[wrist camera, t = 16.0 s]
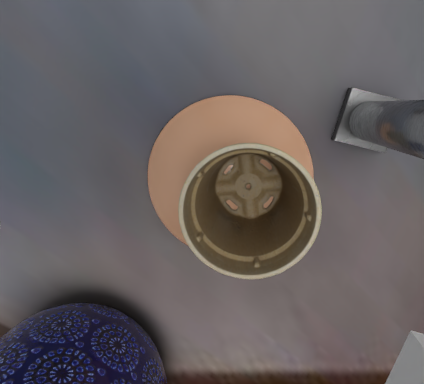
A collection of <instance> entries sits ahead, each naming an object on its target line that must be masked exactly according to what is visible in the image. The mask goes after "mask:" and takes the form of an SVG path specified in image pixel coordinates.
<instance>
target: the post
mask: <svg viewBox="0 0 424 384" xmlns="http://www.w3.org/2000/svg"><path fill="white" fill-rule="evenodd" d="M331 139H332V140H335V141H339V142H343V143H347V144H351V145H355V146H359V147H363V148H367V149H371V150H374V151H378V152H382V153H386V151H387V148H390V149H393V150H397V151H400V152H403V153H406V154H409V155H413V156H416V157H419V158H422V159H424V100H407V101H404V100H400V99H396V98H392V97H388V96H384V95H380V94H376V93H372V92H368V91H364V90H360V89H356V88H348V91H347V94H346V97H345V100H344V102H343V105H342V108H341V111H340V114H339V117H338V120H337V123H336V126H335V129H334V132H333V135H332V138H331Z"/></svg>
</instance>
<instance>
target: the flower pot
mask: <svg viewBox="0 0 424 384" xmlns="http://www.w3.org/2000/svg"><path fill="white" fill-rule="evenodd" d="M261 159H263V160H266V161H267V162H268V163H270V164H271V166H272V169H271V170H269V169H268V168H267V167H265V166H264V165H263V164H262V163H260V160H261ZM229 165H233V166H232V167H231V169H230V170H231V171H228V172H227V173H226V174H224V171H225V170H226V169H227V167H228V166H229ZM248 184H250V185H251V188H250V189H247V188H246V185H248ZM271 196H272V197H274V198H273V200H272V202H271V203H270V205H269V206H268V207H267V208H264V206H263V205H264V203H266V202H267V201H268V200H269V198H270V197H271ZM227 200H230V201H232V202H233V203H234V204H235V205H236V206H238V208H237V209H236V210H234V209H232V208H231V207H230V206H229V205H228V204H227V202H226V201H227ZM178 214H179V224H180V227H181V230H182V234H183V236H184V238H185V240H186V242H187V244H188V246H189V247H190V249H191V250H192V251H193V253H194V254H195V255H196V256H197V257H198V258H199V259H200V260H201V261H202V262H203V263H204V264H206V265H207V266H209V267H210V268H212V269H214V270H215V271H217V272H219V273H222V274H224V275H227V276H232V277H235V278H240V279H262V278H267V277H271V276H274V275H277V274H280V273H282V272H284V271H285V270H287V269H288V268H290V267H292V266H293V265H295V264H296V263H297V262H298V261H299V260H301V259H302V258H303V256H304V255H305V254H306V253H307V252H308V250H309V249H310V248H311V246H312V245H313V243H314V241H315V239H316V237H317V234H318V231H319V228H320V223H321V216H322V207H321V199H320V195H319V191H318V188H317V186H316V184H315V182H314V180H313V178H312V177H311V175H310V174H309V172H308V171H307V170H306V169H305V168H304V167H303V166H302V164H300V163H299V162H298V161H297V160H296V159H295V158H293V157H292V156H290V155H289V154H287V153H285V152H283V151H282V150H280V149H277V148H274V147H271V146H268V145H264V144H259V143H239V144H233V145H230V146H226V147H224V148H221V149H219V150H217V151H215V152H213V153H211V154H210V155H208V156H207V157H205V158H204V159H203V160H202V161H200V162H199V163H198V164H197V165H196V166H195V168H194V169H193V170H192V171H191V173H190V174H189V176H188V177H187V179H186V181H185V183H184V185H183V188H182V190H181V193H180V198H179V206H178Z"/></svg>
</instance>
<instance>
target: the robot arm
mask: <svg viewBox="0 0 424 384" xmlns="http://www.w3.org/2000/svg"><path fill="white" fill-rule="evenodd" d="M0 223H1V221H0ZM385 384H424V334H422V333H419V332H415V331H410V333H409V335H408V337H407V339H406V341H405V343H404V345H403V348H402V350H401V352H400V354H399V356H398V358H397V360H396V362H395V364H394V366H393V369H392V371H391V373H390V375H389V377H388V379H387V381H386V383H385Z"/></svg>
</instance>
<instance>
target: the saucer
mask: <svg viewBox="0 0 424 384" xmlns="http://www.w3.org/2000/svg"><path fill="white" fill-rule="evenodd" d="M239 143H259V144H264V145H268V146H271V147H274V148H277V149H280V150H282V151H283V152H285V153H287V154H289V155H290V156H292V157H293V158H295V159H296V160H297V161H298V162H299V163H300V164H302V166H303V167H304V168H305V169H306V170H307V171H308V172H309V174H310V175H311V177H312V178H313V165H312V159H311V156H310V152H309V149H308V147H307V145H306V142H305V140H304V138H303V137H302V135H301V133H300V132H299V130H298V129H297V128H296V127H295V125H294V124H293V123H292V122H291V121H290V120H289V119H288V118H287V117H286V116H285V115H284V114H282V113H281V112H280V111H278V110H277V109H275V108H274V107H272V106H270V105H268V104H266V103H264V102H262V101H259V100H256V99H253V98H249V97H243V96H233V95H225V96H216V97H211V98H207V99H204V100H201V101H199V102H196V103H194V104H192V105H190V106H188V107H186V108H185V109H183V110H182V111H181V112H179V113H178V114H176V115H175V116H174V117H173V118H172V119H171V120H170V121H169V122H168V123H167V124H166V126H165V127H164V128H163V130H162V131H161V132H160V134H159V136H158V138H157V139H156V141H155V144H154V146H153V148H152V151H151V155H150V159H149V164H148V187H149V193H150V197H151V200H152V203H153V206H154V208H155V211H156V212H157V214H158V216H159V218H160V219H161V221H162V222H163V224H164V225H165V226H166V228H167V229H168V230H169V231H170V232H171V233H172V234H173V235H174V236H175V237H177V238H178V239H179V240H180V241H181V242H183V243H185V244H186V245H188V244H187V242H186V240H185V238H184V236H183V234H182V230H181V227H180V224H179V214H178V206H179V198H180V193H181V190H182V188H183V185H184V183H185V181H186V179H187V177H188V176H189V174H190V173H191V171H192V170H193V169H194V168H195V166H196V165H197V164H198V163H199V162H200V161H202V160H203V159H204V158H205V157H207V156H208V155H210V154H211V153H213V152H215V151H217V150H219V149H221V148H224V147H226V146H230V145H233V144H239ZM260 163H262V164H263V165H264V166H265V167H267V168H268V169H269V170H271V169H272V166H271V164H270V163H268V162H267V161H266V160H263V159H261V160H260ZM232 166H233V165H229V166H228V167H227V169H226V170H225V171H224V174H226V173H227V172H228V171H231V170H230V169H231V167H232ZM313 180H314V179H313ZM246 188H247V189H250V188H251V185H250V184H248V185H246ZM273 198H274V197H272V196H271V197H270V198H269V200H268V201H267V202H266V203H264V205H263V206H264V208H267V207H268V206H269V205H270V203H271V202H272V200H273ZM226 202H227V204H228V205H229V206H230V207H231V208H232V209H234V210H236V209H237V208H238V206H236V205H235V204H234V203H233V202H232V201H230V200H227V201H226Z"/></svg>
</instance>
